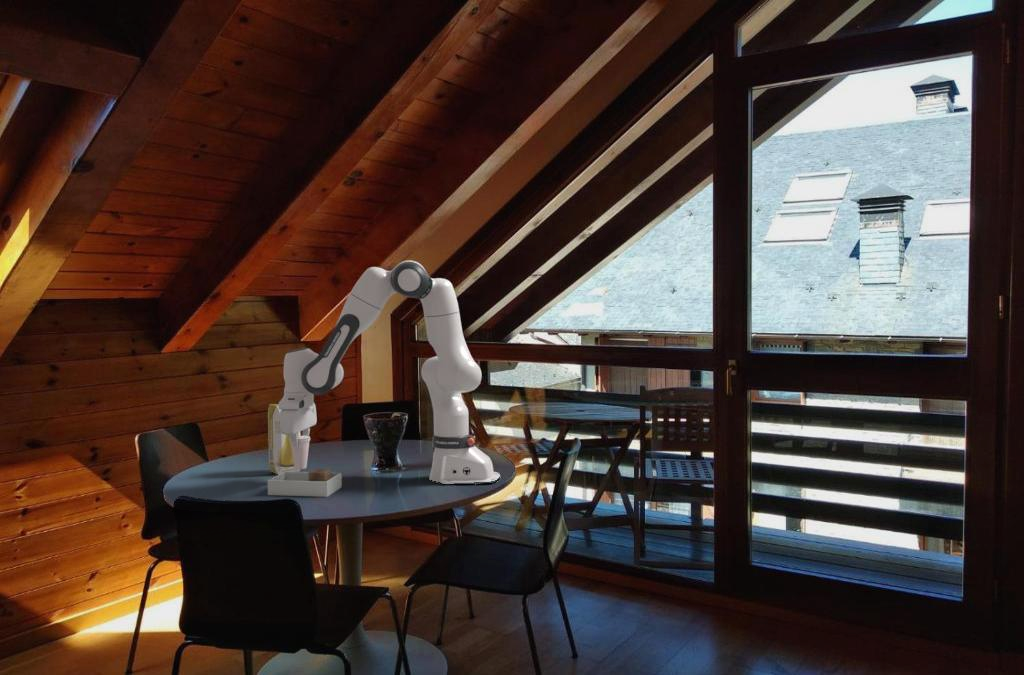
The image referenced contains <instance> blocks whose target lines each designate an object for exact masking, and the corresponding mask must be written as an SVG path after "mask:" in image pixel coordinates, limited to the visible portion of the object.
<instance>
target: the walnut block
mask: <svg viewBox="0 0 1024 675" xmlns="http://www.w3.org/2000/svg"><path fill="white" fill-rule="evenodd" d="M308 472H309V473H308V481H322V482H326V481H328V480H329V479H331V473H332V469H324V468H323V469H322V468H320V469H319V468H315V469H311V471H308Z"/></svg>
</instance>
